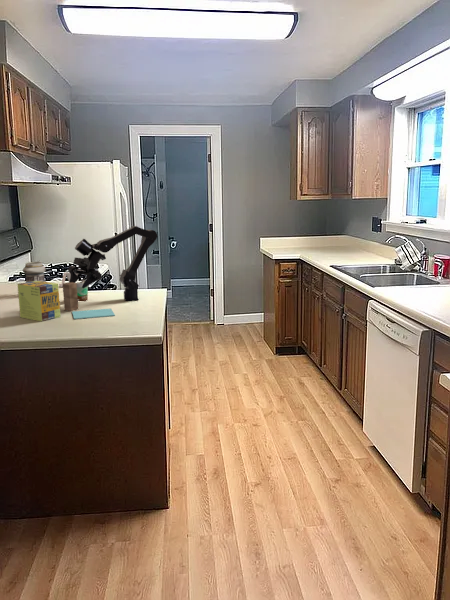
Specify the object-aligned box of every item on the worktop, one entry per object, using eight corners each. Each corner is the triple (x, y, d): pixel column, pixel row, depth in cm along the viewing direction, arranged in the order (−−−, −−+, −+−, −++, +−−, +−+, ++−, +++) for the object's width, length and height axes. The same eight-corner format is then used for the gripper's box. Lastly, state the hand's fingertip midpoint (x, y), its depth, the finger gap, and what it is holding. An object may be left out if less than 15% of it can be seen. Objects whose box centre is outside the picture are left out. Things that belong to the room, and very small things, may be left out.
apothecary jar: (20, 296, 277) (17, 263, 273) (35, 292, 288) (33, 260, 284) (37, 297, 272) (34, 264, 268) (52, 293, 283) (50, 261, 279)
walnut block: (71, 308, 247) (70, 282, 244) (78, 309, 244) (76, 283, 242) (64, 310, 243) (62, 283, 240) (71, 311, 241) (69, 284, 238)
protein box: (42, 321, 222) (39, 287, 218) (19, 317, 230) (16, 283, 226) (61, 316, 230) (58, 283, 227) (39, 312, 238) (36, 280, 235)
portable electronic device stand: (59, 287, 301) (58, 273, 300) (68, 285, 308) (67, 271, 307) (70, 288, 298) (69, 274, 296) (79, 286, 305) (78, 272, 303)
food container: (83, 303, 258) (81, 284, 256) (72, 302, 259) (70, 283, 257) (94, 298, 270) (92, 279, 268) (83, 298, 271) (82, 279, 269)
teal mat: (111, 309, 244) (110, 308, 244) (114, 315, 231) (114, 314, 231) (72, 312, 238) (72, 311, 238) (74, 319, 225) (73, 318, 225)
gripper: (69, 250, 251) (52, 275, 244) (96, 252, 241) (79, 278, 234) (82, 264, 259) (66, 288, 252) (109, 266, 249) (93, 292, 242)
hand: (76, 286), depth 245 cm, fingers open, 9 cm apart
